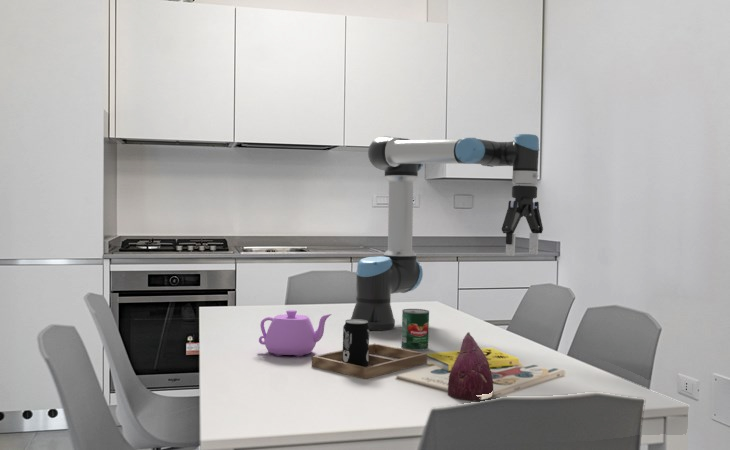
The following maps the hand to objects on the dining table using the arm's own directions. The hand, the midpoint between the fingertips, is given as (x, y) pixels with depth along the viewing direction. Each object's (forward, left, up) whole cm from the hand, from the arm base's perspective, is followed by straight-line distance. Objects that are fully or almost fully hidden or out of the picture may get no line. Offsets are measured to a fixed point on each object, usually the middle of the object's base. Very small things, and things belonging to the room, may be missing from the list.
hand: (521, 254), depth 219 cm
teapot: (-35, -61, -28) cm, 76 cm away
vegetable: (+22, -62, -28) cm, 71 cm away
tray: (-12, -56, -27) cm, 64 cm away
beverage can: (-12, -62, -28) cm, 69 cm away
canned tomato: (-17, -30, -28) cm, 44 cm away
